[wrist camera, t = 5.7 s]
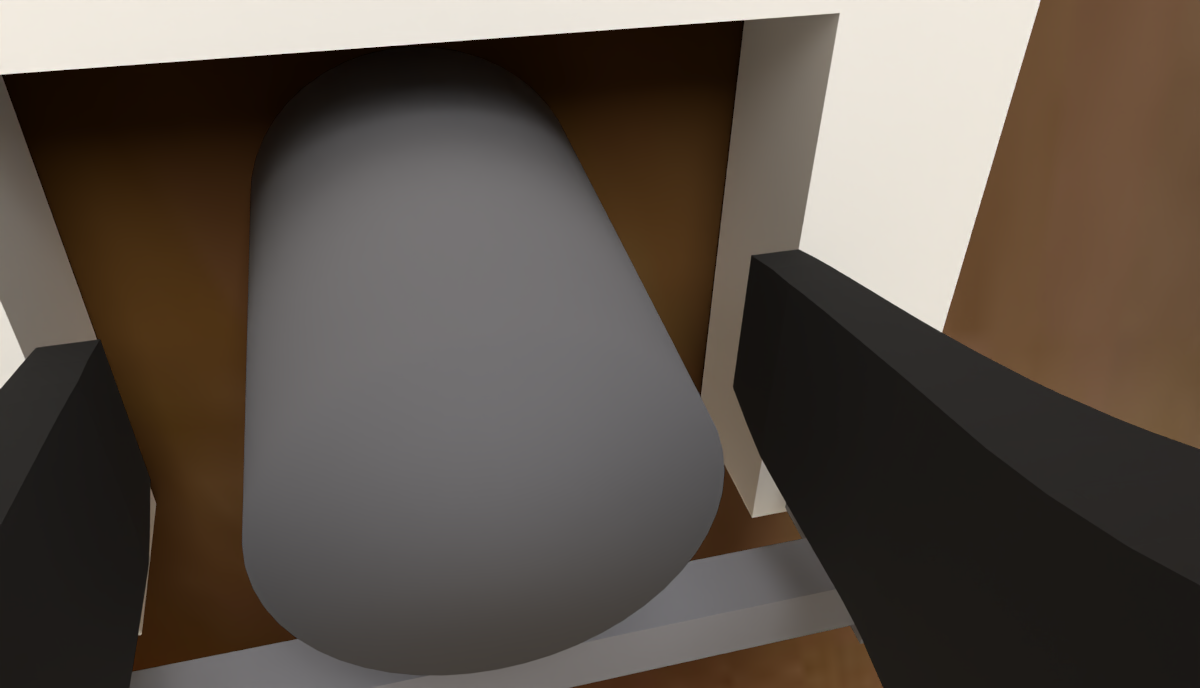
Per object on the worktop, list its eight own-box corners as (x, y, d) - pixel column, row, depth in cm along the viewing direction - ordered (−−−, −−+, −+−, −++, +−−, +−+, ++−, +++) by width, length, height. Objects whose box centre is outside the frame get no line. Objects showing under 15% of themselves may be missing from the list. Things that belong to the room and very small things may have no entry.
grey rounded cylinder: (569, 315, 16) (695, 632, 11) (275, 346, 14) (280, 711, 10) (583, 39, 13) (758, 307, 8) (223, 54, 12) (196, 368, 7)
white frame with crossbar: (1013, -452, 11) (1439, -458, 7) (828, 392, 18) (982, 620, 14) (-580, -517, 8) (-1437, -593, 4) (-20, 532, 15) (-117, 869, 11)
